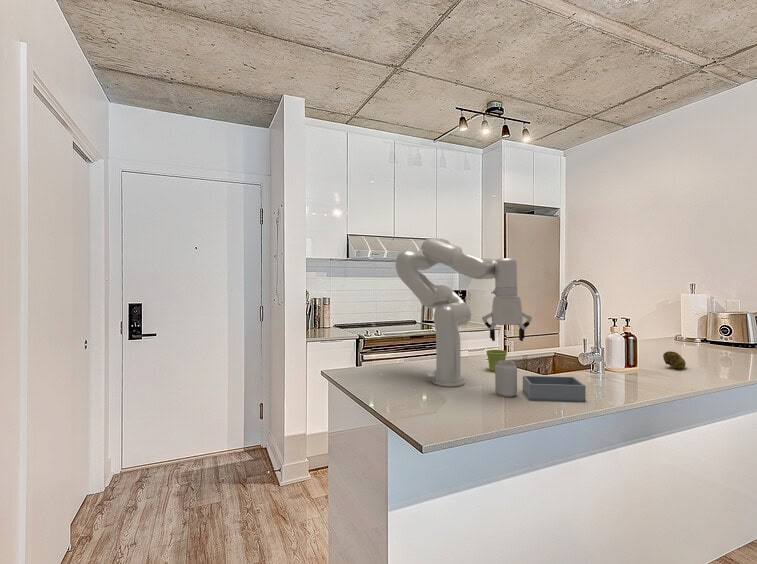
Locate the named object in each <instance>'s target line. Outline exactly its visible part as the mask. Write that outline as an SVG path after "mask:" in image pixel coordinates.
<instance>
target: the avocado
mask: <svg viewBox="0 0 757 564" xmlns="http://www.w3.org/2000/svg"><path fill="white" fill-rule="evenodd" d="M662 357H663V358H662V359H663V362H664V363H665V364H666V365H668V366H670V367H672V368H674V369H677V370H678V369H679V370H681V369H684V368H685V367H686V363H687V362H686V361H685V359H684V358H683V357H682V356H681V355H680V354H679V353H678V352H675V351H672V350H671V351H670V350H669V351H666V352H664V353H663V356H662Z"/></svg>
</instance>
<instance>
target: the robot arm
mask: <svg viewBox="0 0 757 564" xmlns="http://www.w3.org/2000/svg"><path fill="white" fill-rule="evenodd" d="M517 262H518V261H517V259H515V258H513V257H511V258H510V257H506V258H503V257H502V258H496V259H495V258H483V257H482V258H479V257H475V256H473V255H469V254H467V253H464V252H463V249H462V248H461V247H460V246H458V245H455V244H452V243H451V242H450V241H449V240H447V239H444V238H438V237H430V238H427V239H425V240H424V241H423V242H422V243H421V250H418V249H417V250H415V249H407V250H403V251H401V252H400V253H398V255H397V256H396V259H395V269H396V274H397V276H398V278H400V280H401V281H402V282H403V284H404V285H405V286H406V287H407V288H408V289H409V291H411V292H412V293H413V294H414V296H415V297H416V298H417V299H418V300H419V301H420V302H421V304H423V306H424V307H425V308H428V309H435V311H434V313H433V322H434V328H435V341H436V342H435V350H436V351H435V352H436V353H435V354H436V355H435V357H436V360H435V361H436V362H435V364H436V368H435V371H431V372H430V371H425V374H424V376H425V378H428V379H431V378H432V384H434V385H437V386H439V387H447V388H449V387H461V386H463V385H465V379H463V378H462V377H461V375H462V373H461V371H462V370H461V334H460V331H459V328H458V327H460V326H464V325H466V324H468V323H469V322H470V321H471V318H472V311H471V309H470V307H469V305H468V304H467V303H466V302H465V301H464V300H463V299H462V298H461V297H460V295H458V294H457V293H456V292H455V291H454V290H453V289H452V288H450V287H449V286H447V285H444V284H441V285H439V284H438V285H437V284H434V283H433V282H432V281H430V279H428V277H427V276H426V275H424V274H423V273H422V272H420V271H425V270H428V269H430V268H432V267H435V266H436V265H438V264H442V265H445V266H448V267H450V268H451V269H452V270H453V271H456V272H457V273H459V274H462V276H463V275H464V276H466V277H468V278H471V279H474V280H475V279H476V280H491V279H494V284H495V285H494V289H491V291H490V293H491V294H493V295H495V296H493V299H492V304H491V312H490V313H488V314H485V315H483V316H482V317H481V319H482V321H483V323H484V325H485V326H486V327H487V328H488V329H489V339H491V341H492V342H495V341H496V331H495V330H496V329H495V328H496V326H518V327H519V329H518V340H519V341H521V342H523V341H524V339H525V330H526V329H527V328H528V327H529V326H530V325H531V322H532V320H533V317H532V316H531V315H528V314H526V313H524V312H523V308H522V300H521V297H520V296H519V295H518V265H517V264H518V263H517ZM490 318H491V323H489V322H488V319H490ZM524 318H525V319H526V321H525V322H524V321H523V319H524ZM523 322H524V323H523Z"/></svg>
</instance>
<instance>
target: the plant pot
mask: <svg viewBox="0 0 757 564" xmlns="http://www.w3.org/2000/svg"><path fill="white" fill-rule="evenodd" d="M485 353H486V355H487V361H488V366H489V371H490V372H493V373H495V365H496V364H497V361H500V360H506V357H507V354H508V351H506V350H503V349H487V350H485Z"/></svg>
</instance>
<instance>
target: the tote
mask: <svg viewBox="0 0 757 564" xmlns="http://www.w3.org/2000/svg"><path fill="white" fill-rule="evenodd" d="M522 391H523V392H524V393H523V394H525V395H526V397H527V398H528V399H529V401H539V402H540V401H541V402H542V401H543V402H544V401H545V402H571V403H572V402H573V403H574V402H575V403H577V402H578V403H579V402H580V403H581V402H582V403H586V399H587V398H586V385H585V384H584V383H583V382H581V381H580V380H579V379H577V378H576V377H575V376H553V375H551V376H548V375H547V376H544V375H522Z"/></svg>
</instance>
